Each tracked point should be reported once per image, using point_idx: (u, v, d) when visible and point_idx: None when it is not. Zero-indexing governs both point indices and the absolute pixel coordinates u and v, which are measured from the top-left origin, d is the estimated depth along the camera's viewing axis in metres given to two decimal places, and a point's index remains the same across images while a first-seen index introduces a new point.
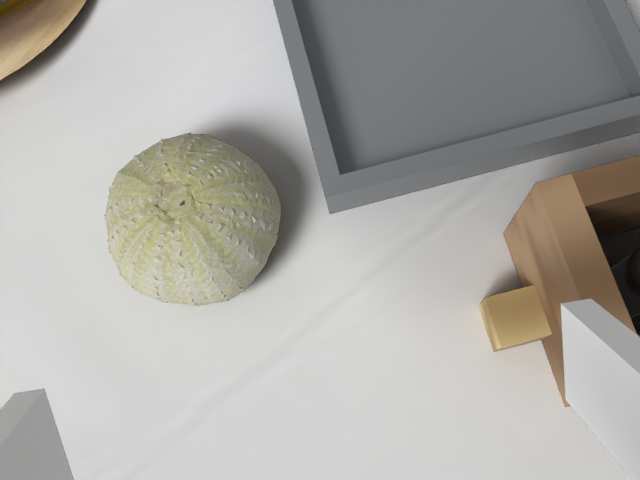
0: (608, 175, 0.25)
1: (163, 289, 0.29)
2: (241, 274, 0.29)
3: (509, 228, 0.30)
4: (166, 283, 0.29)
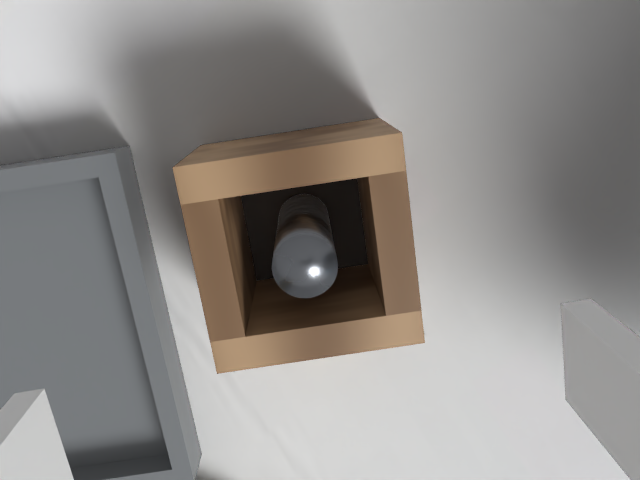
0: (215, 310, 0.25)
1: None
2: None
3: None
4: None
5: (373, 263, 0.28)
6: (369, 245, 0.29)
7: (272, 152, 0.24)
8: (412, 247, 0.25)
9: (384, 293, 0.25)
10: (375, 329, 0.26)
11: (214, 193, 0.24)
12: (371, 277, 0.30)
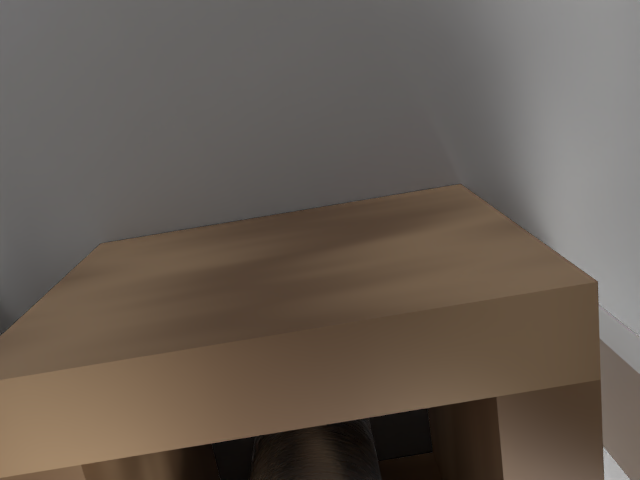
0: None
1: None
2: None
3: None
4: None
5: None
6: (451, 458, 0.14)
7: (228, 340, 0.08)
8: None
9: None
10: None
11: (70, 451, 0.09)
12: None
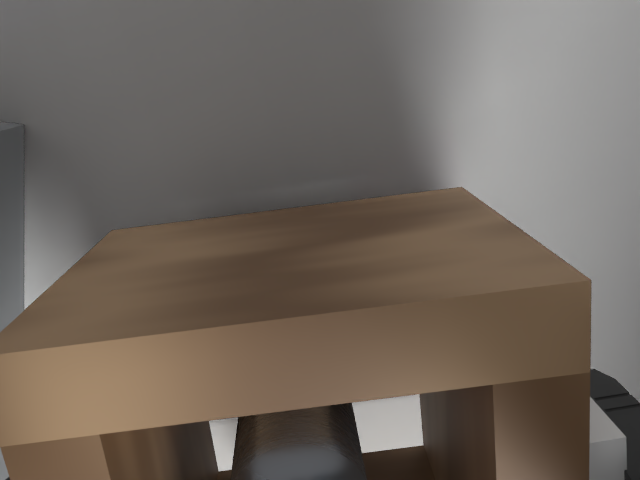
0: None
1: None
2: None
3: None
4: None
5: None
6: (442, 448, 0.14)
7: (244, 322, 0.09)
8: None
9: None
10: None
11: (89, 421, 0.09)
12: None
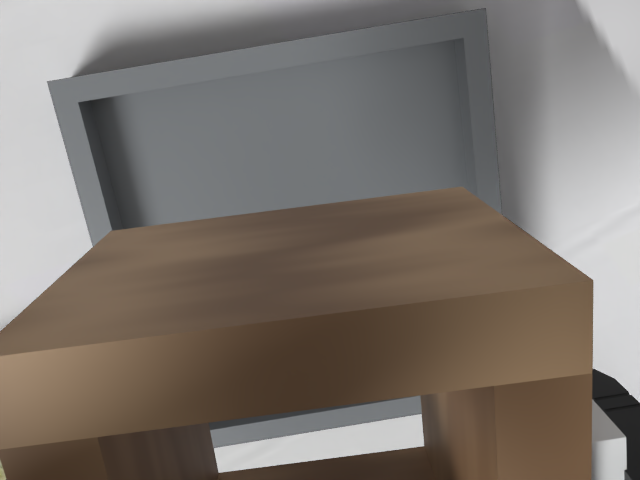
0: None
1: None
2: None
3: None
4: None
5: None
6: (443, 450, 0.14)
7: (243, 323, 0.09)
8: None
9: None
10: None
11: (87, 423, 0.09)
12: None
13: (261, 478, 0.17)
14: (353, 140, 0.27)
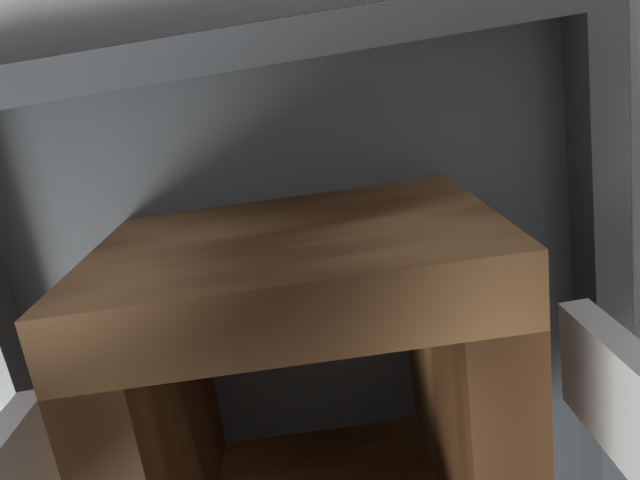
0: None
1: None
2: None
3: None
4: None
5: (441, 458, 0.15)
6: (430, 414, 0.16)
7: (248, 289, 0.10)
8: None
9: None
10: None
11: (114, 377, 0.10)
12: (428, 460, 0.17)
13: (266, 447, 0.18)
14: (390, 181, 0.17)
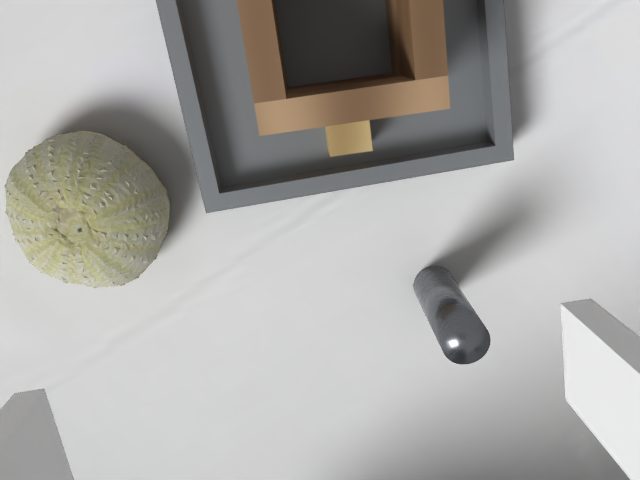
0: (259, 71, 0.27)
1: (71, 282, 0.36)
2: (137, 273, 0.36)
3: None
4: (73, 281, 0.35)
5: (401, 50, 0.30)
6: (397, 37, 0.31)
7: None
8: (441, 10, 0.27)
9: (414, 57, 0.27)
10: (405, 94, 0.28)
11: None
12: (397, 74, 0.32)
13: (310, 85, 0.34)
14: None
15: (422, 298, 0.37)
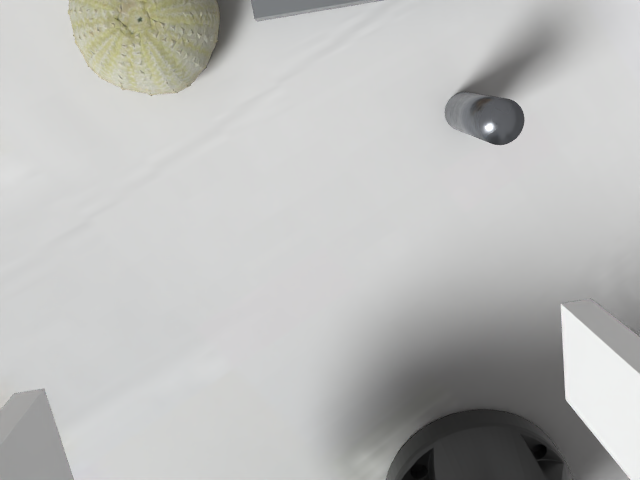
0: None
1: (126, 84, 0.38)
2: (188, 77, 0.38)
3: None
4: (129, 81, 0.37)
5: None
6: None
7: None
8: None
9: None
10: None
11: None
12: None
13: None
14: None
15: (455, 110, 0.39)
